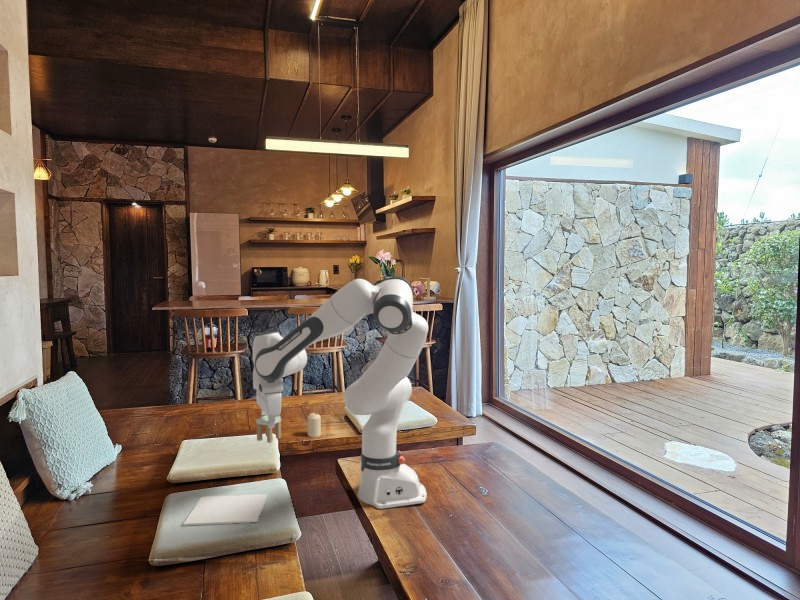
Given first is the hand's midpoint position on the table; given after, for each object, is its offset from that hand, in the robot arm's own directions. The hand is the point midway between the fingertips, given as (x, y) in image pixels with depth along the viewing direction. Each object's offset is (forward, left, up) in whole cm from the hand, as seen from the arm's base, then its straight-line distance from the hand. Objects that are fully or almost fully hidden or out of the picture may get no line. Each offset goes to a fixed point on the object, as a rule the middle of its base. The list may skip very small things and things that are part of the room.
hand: (268, 423), depth 159 cm
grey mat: (+9, +16, -21) cm, 27 cm away
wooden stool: (0, 0, -5) cm, 5 cm away
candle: (-11, -45, -21) cm, 51 cm away
